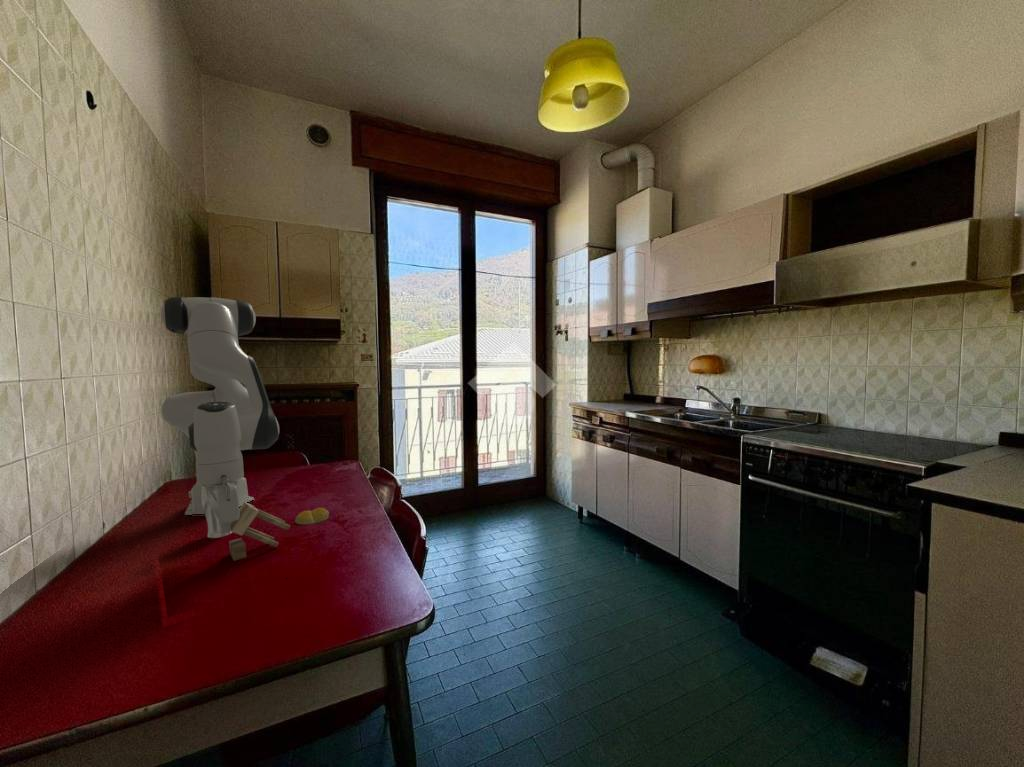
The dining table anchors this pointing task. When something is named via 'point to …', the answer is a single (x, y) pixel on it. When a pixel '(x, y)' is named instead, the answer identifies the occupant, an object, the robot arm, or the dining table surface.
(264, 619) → the dining table surface
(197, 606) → the dining table surface
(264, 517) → the stool
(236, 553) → the prop block
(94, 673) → the dining table surface
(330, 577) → the dining table surface
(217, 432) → the robot arm
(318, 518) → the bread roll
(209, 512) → the beer glass
